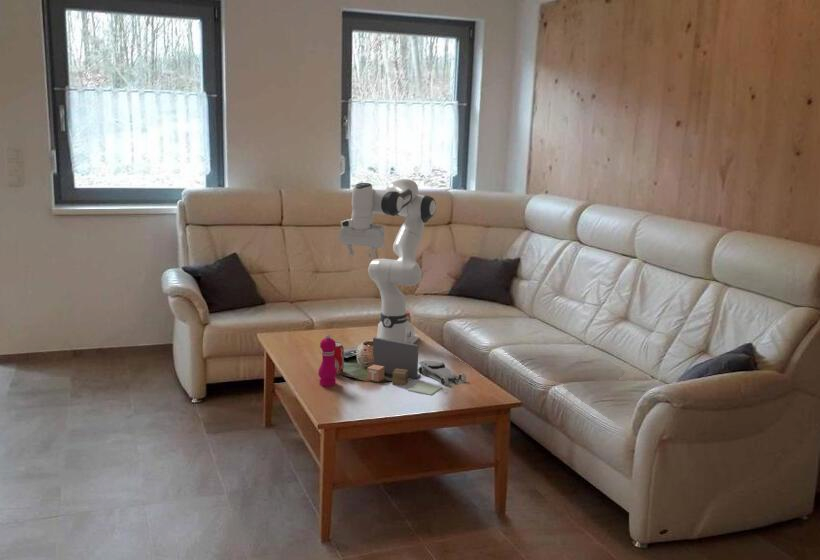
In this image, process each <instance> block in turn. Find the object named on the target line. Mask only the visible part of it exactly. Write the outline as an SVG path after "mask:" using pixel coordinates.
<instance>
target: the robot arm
mask: <svg viewBox="0 0 820 560" xmlns="http://www.w3.org/2000/svg"><path fill="white" fill-rule="evenodd" d="M351 207H352V211H351V218H348V219H345V220H341V221H340V228H339V233H338V241H339V243H340V244H341V245H342V244H343V245H346V248H347V250H348V254H349V256H355V250H353V246H358V247H360V246H361V247H366V248H370V250H371V252H370V253H368V258H369V259H370V258H371V259H372V260H371V262H370V263H369V265H368V268H367V272H368V276H369V277H370V279H371V280H372V281H373V282H374V283H375V285H376V286H377V288H378V290H379V293H380V297H381V299H380V300H381V312H380V316H379V319H380V321H379V322H378V325H377V332H376V333H377V334H376V336H375V337H376V338H382V339H387V340H393V341H399V342H404V343H410V344H414V343H415V342H416V341H418V340H419V339H420V336H419V335H418V334H416V333H415V328H414V325H413V324H412V323H411V322H410V321H409V320H408V317H410V316H411V315H410V314H411V313H410V312H409V311H408V312H407V311H406V310H407V302H406V301H407V298H406V295H405V293H403V292H402V291H401V290H400V289H399V288H398V287H397V285H398V286H415V285H417V284H418V283H419V282H420V281H421V279H422V274H423V271H422V268H421V266H420V264H419V263H417V260H416V254H417V252H418V248H419V245H420V242H421V240H422V237H423V234H424V229H425V223H427V222H429V220H430V219H432V218H433V216H434V215H435V213H436V211H437V202H436V200H435V198H434V197H432V196H430V195H423V194H419V186H418V184H417V183H416V182H415V181H414V180H412V179H410V178H409V179H407V178H405V179H397V180H394V181H392V182H391V183H389V184H388V185H387V187H386V188H385V190H375V189H374V188H373V185H372V184H371V183H369V182H358V183H356V184H355V185H354V186H353V188H352V193H351ZM374 214H378V215H386V216H391V217H392V216H393V217H395V216H397V217H405V220H404V222H403V223H402V224H401V226H400V228H399V231H398V232H397V234H396V237H395V239H394V242H393V245H392V251H393V253H394V254H395V255H396V256H397V257H398V258H397V259H393V258H392V259H391V258H383V257H382V258H375V253H376V251H377V249H381V248H383V247H384V246H385V245H386V243H385V228H384V226H382V225H380V224H374ZM374 258H375V259H374Z"/></svg>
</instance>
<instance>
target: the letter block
mask: <svg viewBox="0 0 820 560" xmlns="http://www.w3.org/2000/svg"><path fill="white" fill-rule="evenodd" d="M384 369H385V367H384V366H379V365H373V364H372V365H370V366H368V367H367V369H366V370H367V371H366V373H367V376H366V379H369V380H368V381H371V380H373V381H372V382H376V381H377V382H380V381H382V380H384V379H385V373H384ZM377 382H376V383H377Z"/></svg>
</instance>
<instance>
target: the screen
mask: <svg viewBox="0 0 820 560" xmlns="http://www.w3.org/2000/svg"><path fill="white" fill-rule="evenodd" d="M376 337H377V336H375V337H373V338H372V339H373V340H372V356H373V355H374V363H373V362H372V365H379V366H384V367H385V369H384V374H385V373H386V375H390V376H393V371H394V370H395V369H405V370H408V379H411V380H414V381H415V380H418V379H420V377H421V376H422V375H421V374H420V373H419V372H418V369H419V346H420V345H419V344H414V343H413V344H410V343H404V342H399V341H393V340H387V339H382V338H376Z"/></svg>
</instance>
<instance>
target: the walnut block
mask: <svg viewBox="0 0 820 560" xmlns="http://www.w3.org/2000/svg"><path fill="white" fill-rule="evenodd" d="M408 380H409V378H408V370H405V369H395V370H394V371H393V375H392V382H391V383H392V385H395V386H403V387H405V386H406V385H407V383H408V382H409V381H408Z"/></svg>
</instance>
